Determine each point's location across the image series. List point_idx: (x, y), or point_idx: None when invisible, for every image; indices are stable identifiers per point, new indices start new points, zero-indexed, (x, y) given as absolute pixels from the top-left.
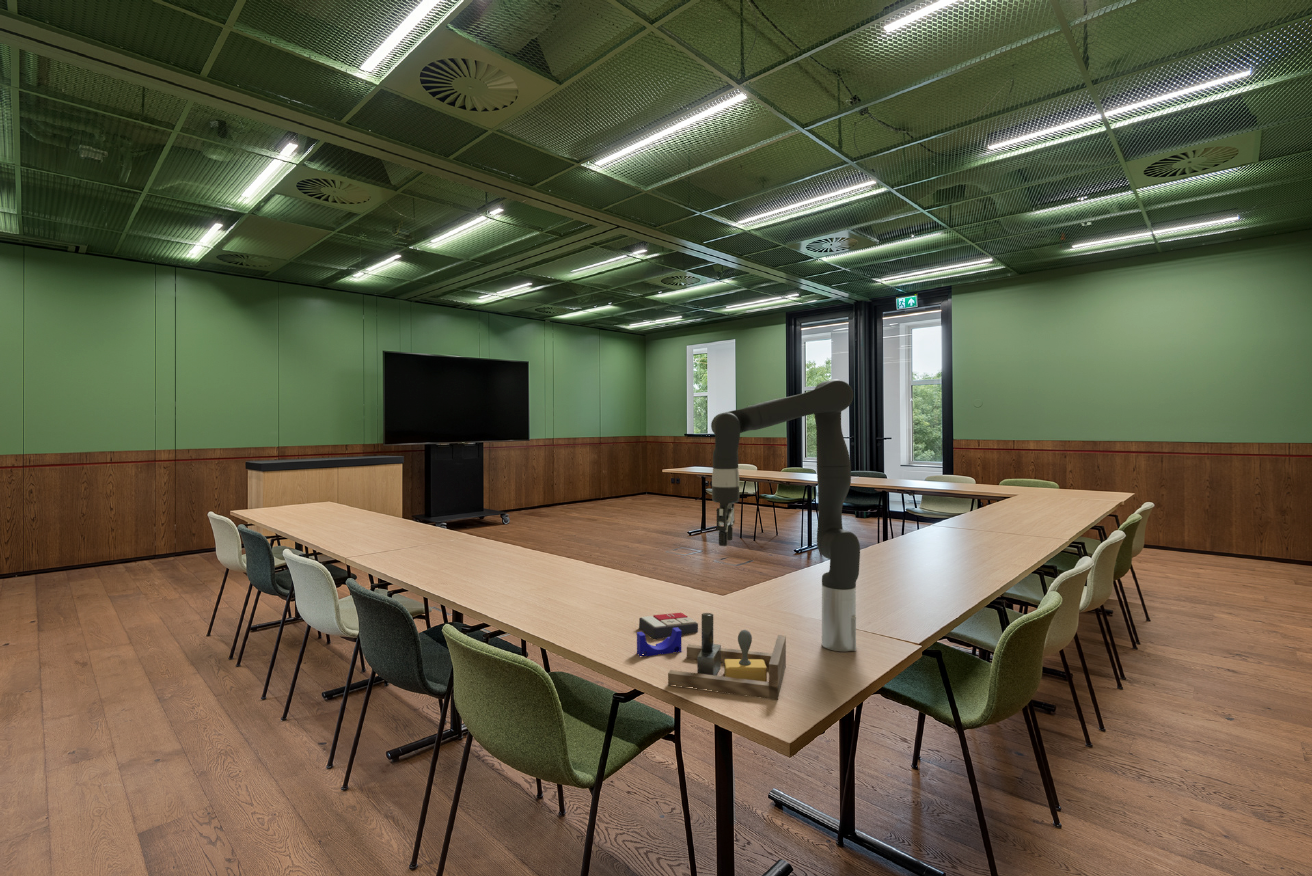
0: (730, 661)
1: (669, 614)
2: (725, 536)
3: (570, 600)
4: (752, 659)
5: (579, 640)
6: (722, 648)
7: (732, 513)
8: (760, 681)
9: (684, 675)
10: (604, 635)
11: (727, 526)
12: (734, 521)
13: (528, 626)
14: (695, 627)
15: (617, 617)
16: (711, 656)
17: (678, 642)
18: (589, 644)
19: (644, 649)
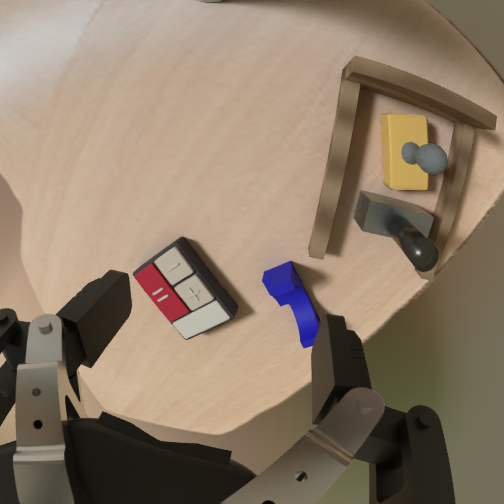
0: (404, 179)
1: (154, 296)
2: (347, 367)
3: (120, 395)
4: (392, 135)
5: (259, 389)
6: (327, 190)
7: (72, 472)
8: (464, 137)
9: (440, 256)
10: (234, 367)
11: (344, 429)
12: (3, 317)
13: (222, 427)
14: (183, 244)
15: (155, 355)
16: (426, 220)
17: (293, 274)
18: (273, 379)
19: (318, 321)
